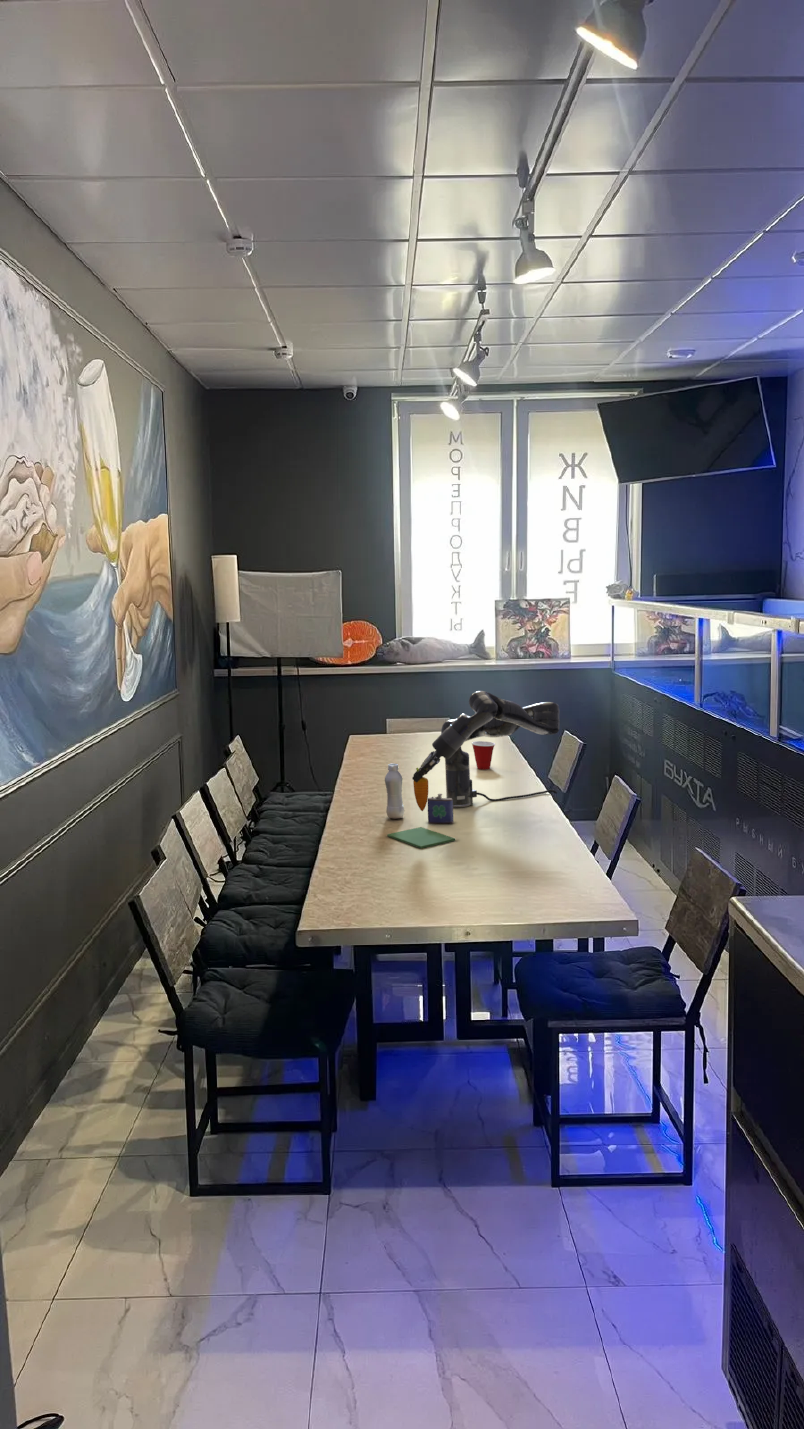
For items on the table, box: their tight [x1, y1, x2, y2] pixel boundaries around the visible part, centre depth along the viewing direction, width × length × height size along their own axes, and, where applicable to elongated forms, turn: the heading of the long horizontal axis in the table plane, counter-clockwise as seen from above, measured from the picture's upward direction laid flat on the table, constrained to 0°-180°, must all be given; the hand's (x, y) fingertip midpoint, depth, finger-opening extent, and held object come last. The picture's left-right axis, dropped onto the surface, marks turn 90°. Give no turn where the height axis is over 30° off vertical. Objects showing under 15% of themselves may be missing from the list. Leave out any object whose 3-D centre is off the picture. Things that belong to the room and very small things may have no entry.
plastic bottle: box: [384, 763, 405, 820], centre depth 350 cm, size 6×7×20 cm
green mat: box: [386, 826, 456, 849], centre depth 323 cm, size 14×20×1 cm
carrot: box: [413, 767, 429, 812], centre depth 320 cm, size 5×5×15 cm
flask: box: [427, 793, 454, 825], centre depth 341 cm, size 9×3×11 cm, turn 74°
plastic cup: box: [471, 740, 496, 771], centre depth 434 cm, size 11×11×12 cm
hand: (414, 778), depth 319 cm, fingers closed on carrot, 4 cm apart
